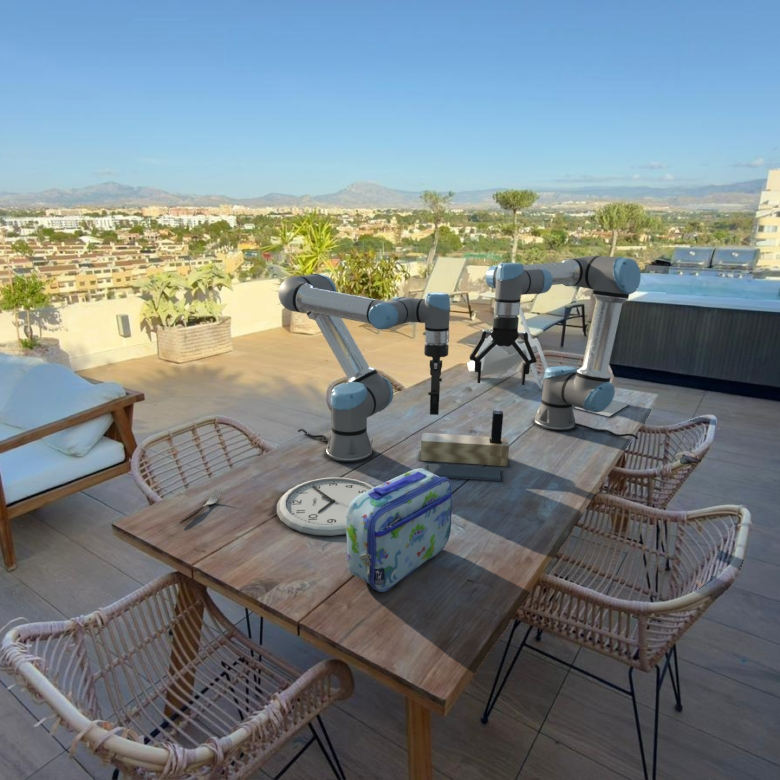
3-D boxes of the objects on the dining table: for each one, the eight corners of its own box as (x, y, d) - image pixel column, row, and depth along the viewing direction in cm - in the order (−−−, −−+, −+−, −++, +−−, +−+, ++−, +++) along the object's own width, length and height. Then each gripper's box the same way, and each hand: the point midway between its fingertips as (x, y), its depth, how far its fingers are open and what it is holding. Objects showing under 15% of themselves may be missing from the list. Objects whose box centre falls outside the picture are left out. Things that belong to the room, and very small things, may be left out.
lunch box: (374, 604, 105) (375, 512, 99) (340, 579, 113) (339, 492, 106) (455, 552, 123) (460, 471, 117) (421, 533, 130) (424, 456, 124)
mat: (498, 471, 165) (499, 468, 164) (500, 481, 158) (501, 478, 158) (429, 466, 167) (429, 463, 167) (428, 476, 160) (428, 473, 160)
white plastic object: (487, 418, 267) (468, 395, 242) (469, 346, 289) (449, 318, 264) (558, 394, 255) (545, 368, 230) (533, 321, 277) (518, 289, 252)
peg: (498, 459, 173) (502, 410, 168) (499, 463, 170) (503, 414, 165) (489, 458, 174) (493, 410, 168) (489, 462, 171) (493, 413, 166)
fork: (175, 524, 132) (174, 517, 132) (215, 495, 146) (215, 489, 146) (183, 526, 131) (182, 519, 131) (223, 497, 146) (222, 490, 145)
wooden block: (505, 457, 175) (507, 437, 173) (507, 466, 168) (509, 446, 166) (421, 451, 178) (422, 432, 176) (420, 460, 171) (421, 440, 169)
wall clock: (392, 527, 129) (268, 531, 127) (391, 533, 130) (269, 537, 127) (383, 473, 158) (282, 475, 155) (383, 478, 158) (282, 480, 156)
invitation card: (608, 416, 214) (573, 407, 224) (608, 416, 214) (573, 408, 224) (628, 404, 229) (594, 396, 238) (628, 405, 229) (594, 397, 238)
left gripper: (426, 335, 176) (424, 395, 182) (422, 351, 152) (421, 420, 158) (448, 335, 175) (446, 396, 181) (448, 352, 151) (446, 421, 157)
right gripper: (546, 315, 160) (539, 381, 166) (464, 312, 163) (460, 377, 169) (550, 319, 153) (543, 388, 159) (464, 316, 155) (460, 384, 162)
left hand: (434, 407), depth 170 cm, fingers open, 13 cm apart
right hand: (500, 383), depth 164 cm, fingers open, 13 cm apart
